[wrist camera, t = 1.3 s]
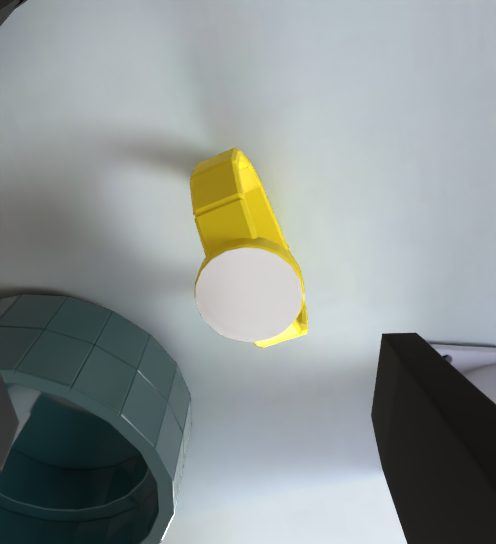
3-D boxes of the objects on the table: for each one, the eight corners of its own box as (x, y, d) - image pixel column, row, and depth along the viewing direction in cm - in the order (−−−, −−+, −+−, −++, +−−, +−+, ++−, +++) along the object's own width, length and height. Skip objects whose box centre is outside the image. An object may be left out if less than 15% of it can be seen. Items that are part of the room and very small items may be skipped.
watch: (319, 272, 18) (342, 374, 13) (253, 295, 19) (248, 402, 13) (259, 123, 15) (256, 174, 10) (184, 156, 16) (145, 219, 11)
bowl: (191, 294, 19) (168, 378, 14) (194, 483, 24) (178, 587, 19) (-88, 279, 19) (-197, 357, 14) (-24, 470, 24) (-89, 571, 20)
